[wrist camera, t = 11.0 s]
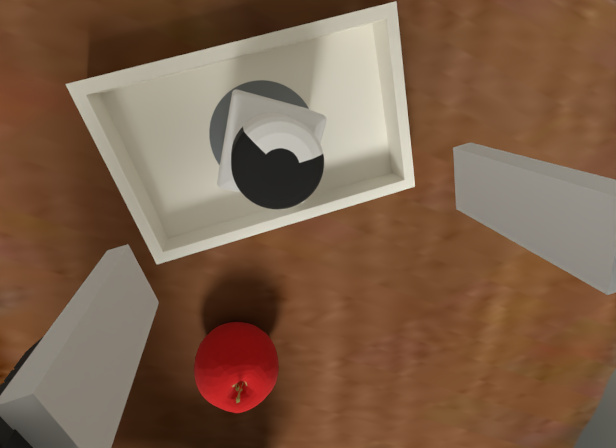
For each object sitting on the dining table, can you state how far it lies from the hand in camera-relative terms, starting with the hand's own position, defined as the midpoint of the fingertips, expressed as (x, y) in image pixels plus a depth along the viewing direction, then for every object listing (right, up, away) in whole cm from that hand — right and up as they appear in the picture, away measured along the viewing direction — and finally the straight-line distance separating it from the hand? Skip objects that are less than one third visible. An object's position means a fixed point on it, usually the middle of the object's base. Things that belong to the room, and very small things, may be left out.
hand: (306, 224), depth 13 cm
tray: (-4, +9, +20) cm, 22 cm away
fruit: (-9, -14, +28) cm, 33 cm away
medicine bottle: (-4, +8, +19) cm, 21 cm away
